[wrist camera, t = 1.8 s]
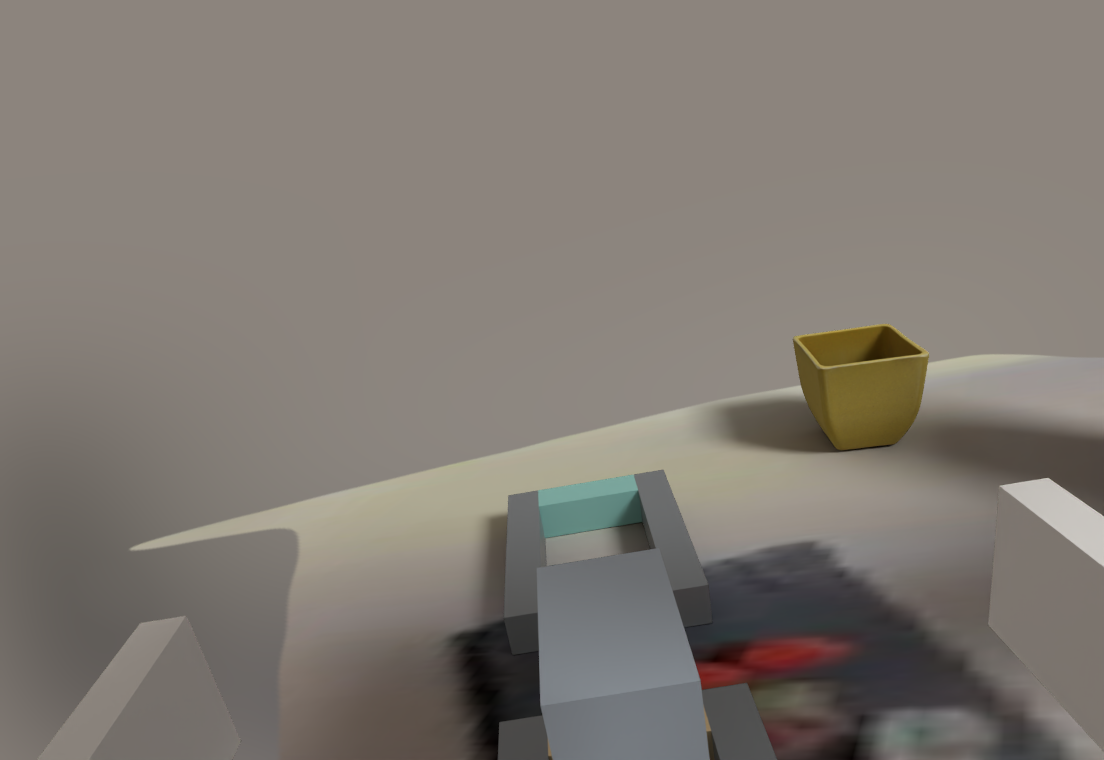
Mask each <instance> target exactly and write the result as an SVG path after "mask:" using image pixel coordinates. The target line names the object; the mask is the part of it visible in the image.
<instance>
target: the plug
mask: <svg viewBox="0 0 1104 760" xmlns="http://www.w3.org/2000/svg"><path fill="white" fill-rule="evenodd" d="M537 599H538V634H539V670H540V705H541V710H542V715H543V719H544V723H545V728H546V732H547V737H548V741H549V745H550V750H551V754H552V759H553V760H710V758H709V750H708V741H707V732H706V724H705V715H704V707H703V698H702V689H701V681H700V677H699V674H698V671H697V668H696V665H695V661H694V658H693V655H692V652H691V649H690V645H689V642H688V639H687V636H686V633H685V629H684V626H683V623H682V620H681V616H680V613H679V610H678V607H677V604H676V600H675V597H674V594H673V591H672V588H671V584H670V581H669V578H668V575H667V572H666V568H665V565H664V562H663V559H662V556H661V552H660V549H659V548H656V549H650V550H643V551H637V552H631V553H625V554H619V555H613V556H607V557H601V558H595V559H588V560H582V561H576V562H570V563H564V564H558V565H552V566H546V567H539V568H537Z"/></svg>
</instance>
